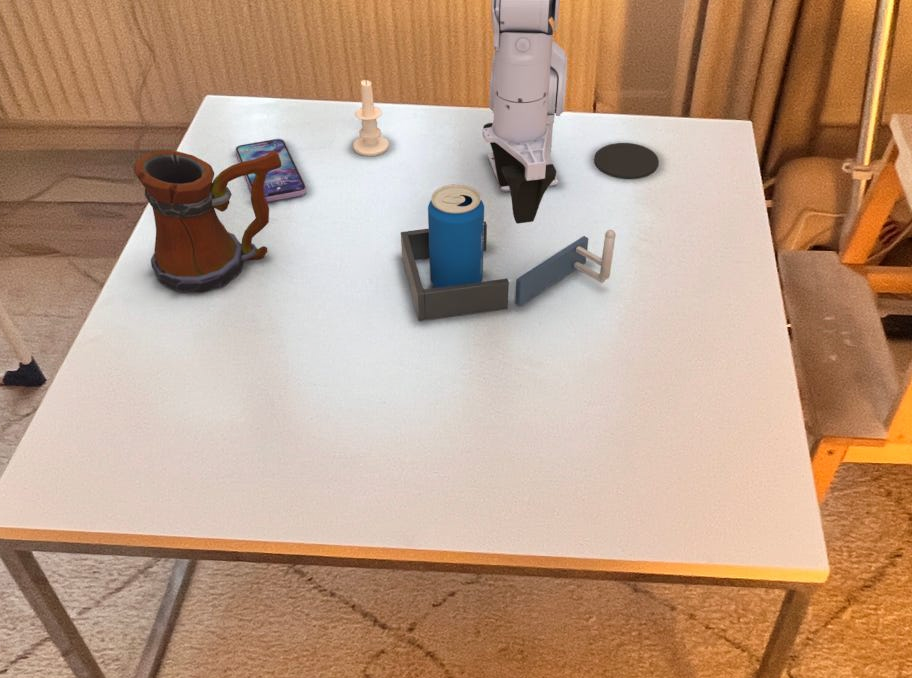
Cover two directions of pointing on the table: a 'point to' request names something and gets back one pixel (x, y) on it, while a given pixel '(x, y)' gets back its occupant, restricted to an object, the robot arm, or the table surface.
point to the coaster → (626, 160)
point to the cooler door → (565, 267)
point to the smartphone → (278, 180)
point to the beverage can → (456, 236)
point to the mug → (200, 218)
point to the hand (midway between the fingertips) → (516, 202)
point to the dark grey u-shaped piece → (449, 297)
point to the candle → (369, 125)
